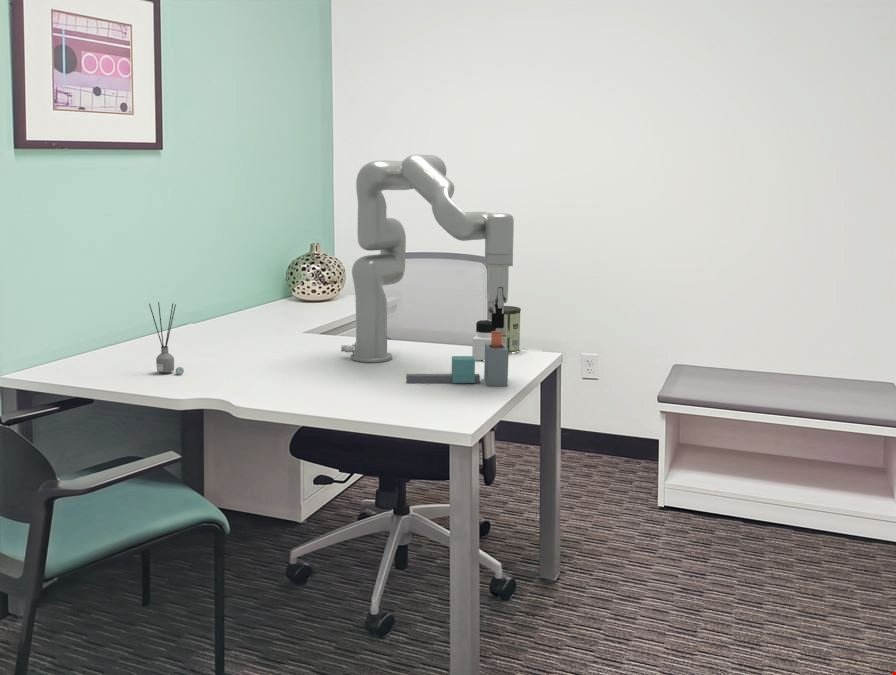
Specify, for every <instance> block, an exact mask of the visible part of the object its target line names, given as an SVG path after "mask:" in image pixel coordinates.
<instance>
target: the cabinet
mask: <svg viewBox="0 0 896 675" xmlns="http://www.w3.org/2000/svg"><path fill="white" fill-rule="evenodd" d="M508 353H509V350H508V348H507V346H506V345H505V343H502V348H491V343H485V361H484V364H483V365H484V367H483V368H484V370H483V372H484V373H483V374H484V376H483V379H484V382H485V384H486V387H508V386H509V385H508V382H509V354H508Z"/></svg>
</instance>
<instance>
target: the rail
mask: <svg viewBox="0 0 896 675" xmlns="http://www.w3.org/2000/svg"><path fill="white" fill-rule="evenodd" d="M405 378H406V381H405V382H406V384H453V383H452V373H406V377H405ZM480 382H481V375H480V373H475V383H474V384H480Z"/></svg>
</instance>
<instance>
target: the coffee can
mask: <svg viewBox="0 0 896 675" xmlns="http://www.w3.org/2000/svg"><path fill="white" fill-rule="evenodd" d="M521 310H522V309H521V307H518V306H514V305H513V306H512V305H504V328H496V331H501V332H502V343H505V345H506V346H507V348H508V350H509V353H508V355H511V354H510V353H512V352H517V351H519V352H520V340H521V339H520V336H521V335H520V334H521V333H520V331H521V330H520V329H521V328H520V327H521ZM488 320H492V306H490V307H488Z"/></svg>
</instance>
